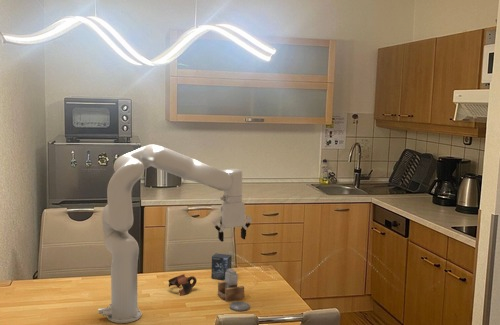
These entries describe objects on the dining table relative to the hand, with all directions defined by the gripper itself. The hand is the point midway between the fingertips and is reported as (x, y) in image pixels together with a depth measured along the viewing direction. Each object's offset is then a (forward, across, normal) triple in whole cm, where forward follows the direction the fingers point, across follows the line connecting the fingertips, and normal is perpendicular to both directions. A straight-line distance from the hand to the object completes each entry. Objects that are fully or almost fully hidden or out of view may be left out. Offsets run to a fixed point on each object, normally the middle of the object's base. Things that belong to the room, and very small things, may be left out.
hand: (232, 239), depth 216 cm
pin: (+24, 0, 0) cm, 24 cm away
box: (+25, +4, +22) cm, 33 cm away
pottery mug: (+24, -18, +12) cm, 33 cm away
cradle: (+24, 0, 0) cm, 24 cm away
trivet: (+24, -1, -12) cm, 27 cm away
